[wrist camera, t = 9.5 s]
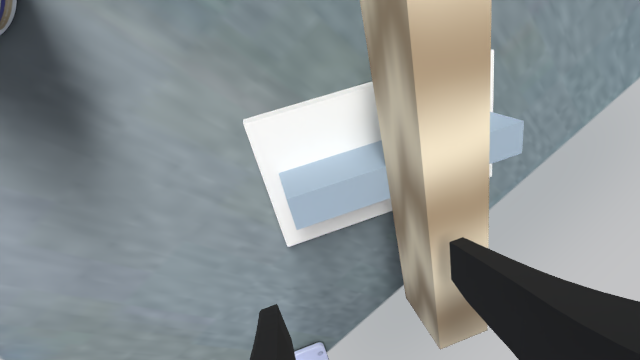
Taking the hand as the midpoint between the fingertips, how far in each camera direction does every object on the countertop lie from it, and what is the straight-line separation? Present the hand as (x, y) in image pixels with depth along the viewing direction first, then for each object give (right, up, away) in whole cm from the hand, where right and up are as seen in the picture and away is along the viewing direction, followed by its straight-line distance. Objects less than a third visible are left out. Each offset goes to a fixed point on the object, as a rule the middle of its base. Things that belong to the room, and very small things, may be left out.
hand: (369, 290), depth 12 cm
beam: (+3, +5, +5) cm, 8 cm away
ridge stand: (+2, +7, +9) cm, 12 cm away
